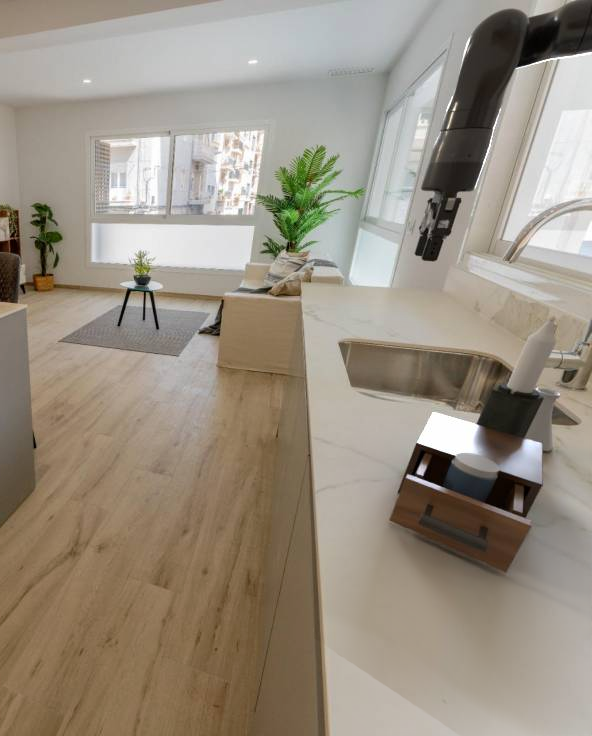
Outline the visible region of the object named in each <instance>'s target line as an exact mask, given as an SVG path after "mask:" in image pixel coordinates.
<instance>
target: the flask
mask: <svg viewBox="0 0 592 736" xmlns="http://www.w3.org/2000/svg"><path fill="white" fill-rule="evenodd" d="M535 390H536V391H538V392H539V393H540V395H541V396H543V397H544V399H543V401H542V403H541V405H540V407H539V409H538V411H537V414H536V416H535V418H534V420H533V422H532V424H531V426H530V428H529V430H528V432H527V434H526V436H525V439H529V440H532V441H536V442H539V443H542V450H543V452H550V451H551V450H552V448H553V446H554V444H553V443H554V442H553V410H554V406H555V404H556V401H557V399H560V397H561V396H562V393H560V392H558V391H557V390H552V389H551V388H550V389H549V388H544V387H535Z"/></svg>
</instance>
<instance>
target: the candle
mask: <svg viewBox="0 0 592 736" xmlns="http://www.w3.org/2000/svg"><path fill="white" fill-rule="evenodd" d="M556 320H557V317H556V316H555V315H550V316H548V317H547V321H546V322H545V323H543V325H542V326H541V327H540V328H539V329H538V330H537V331H535V332H533V333H531V334H530V335H529V336H528V337H527V339H526V342H525V344H524V346H523V348H522V350H521V353H520V355H519V357H518V359H517V362H516V364H515V365H514V369H513V371H512V372H511V375H510V377H509V380H508V382H500V383H499V384H498V386H494V387H491V389H490V392H489V393H488V396H487V398H486V401H485V403H484V406H483V408H482V410H481V412H480V415H479V416H478V419H477V422H476V424H477V425H480V426H484V427H487V428H490V429H494V430H497V431H501V432H504V433H508V434H511V435H515V436H518V437H522V438H525V436H526V434H527V432H528V430H529V428H530V426H531V424H532V422H533V420H534V418H535V416H536V414H537V411H538V409H539V407H540V405H541V403H542V401H543V399H544V397H543V396H541V395H540V393H539V392H538V391H536V386H537V384H538V382H539V380H540V377H541V375H542V373H543V371H544V369H545V367H546V365H547V362H548V361H549V358H550V356H551V354H552V353H553V351H554V350H553V349H554V348H555V346H556V344H557V338H556V336H555V333H554V328H555V321H556Z"/></svg>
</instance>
